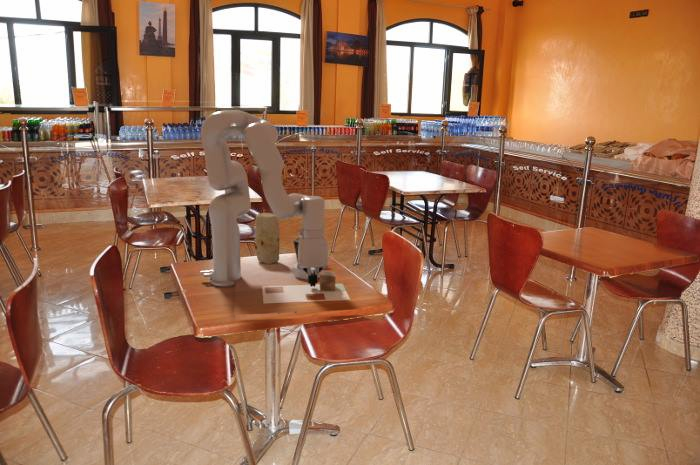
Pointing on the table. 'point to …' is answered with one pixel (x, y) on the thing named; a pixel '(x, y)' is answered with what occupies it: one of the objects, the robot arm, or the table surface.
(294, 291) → the trap deck
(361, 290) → the table surface
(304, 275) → the ramekin
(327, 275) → the walnut block
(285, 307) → the table surface
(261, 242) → the food model
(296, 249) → the ceramic cup
